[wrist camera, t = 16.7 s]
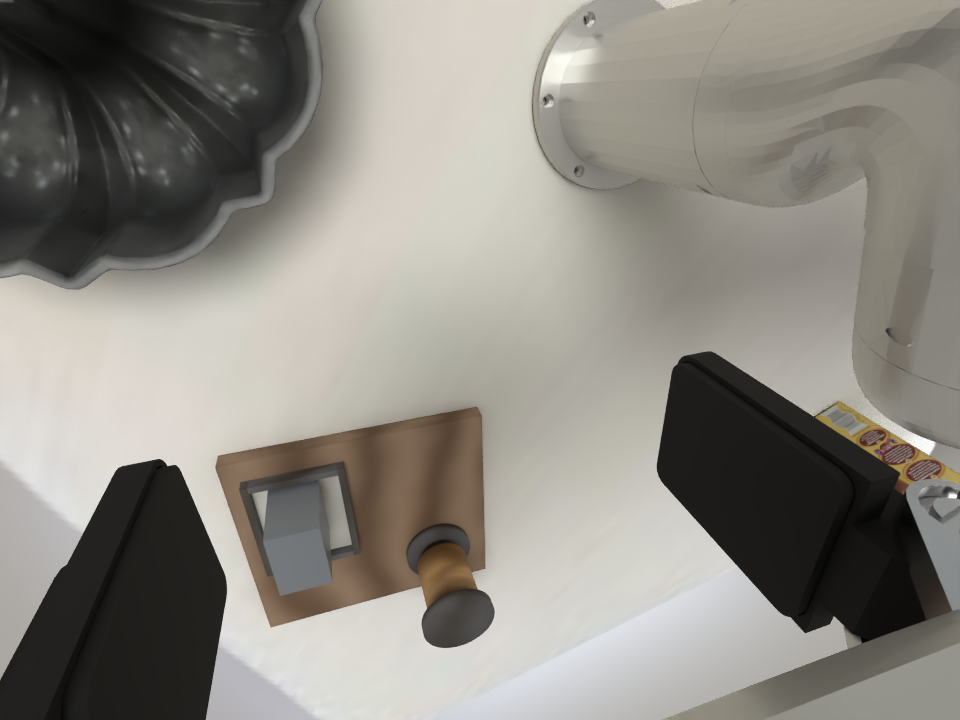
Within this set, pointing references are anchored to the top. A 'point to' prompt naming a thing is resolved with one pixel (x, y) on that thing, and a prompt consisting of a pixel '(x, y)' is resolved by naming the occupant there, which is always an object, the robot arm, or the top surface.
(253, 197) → the bundt pan
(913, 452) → the candy box
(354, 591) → the winding board
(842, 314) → the top surface
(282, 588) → the gray rectangular block
